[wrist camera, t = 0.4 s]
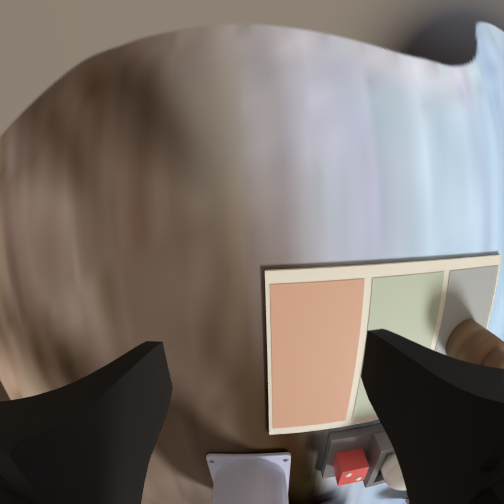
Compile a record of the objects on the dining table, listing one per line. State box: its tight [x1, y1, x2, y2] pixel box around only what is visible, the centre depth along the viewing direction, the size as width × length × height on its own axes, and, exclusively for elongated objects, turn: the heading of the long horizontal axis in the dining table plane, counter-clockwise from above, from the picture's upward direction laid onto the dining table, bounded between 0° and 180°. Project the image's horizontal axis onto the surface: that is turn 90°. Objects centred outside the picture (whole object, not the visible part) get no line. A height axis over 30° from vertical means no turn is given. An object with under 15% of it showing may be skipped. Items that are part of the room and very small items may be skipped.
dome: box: [380, 452, 406, 491], centre depth 19 cm, size 5×5×5 cm
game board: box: [265, 254, 501, 435], centre depth 20 cm, size 15×21×1 cm
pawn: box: [446, 319, 504, 369], centre depth 17 cm, size 4×4×6 cm
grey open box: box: [321, 423, 395, 488], centre depth 21 cm, size 7×11×4 cm, turn 93°
